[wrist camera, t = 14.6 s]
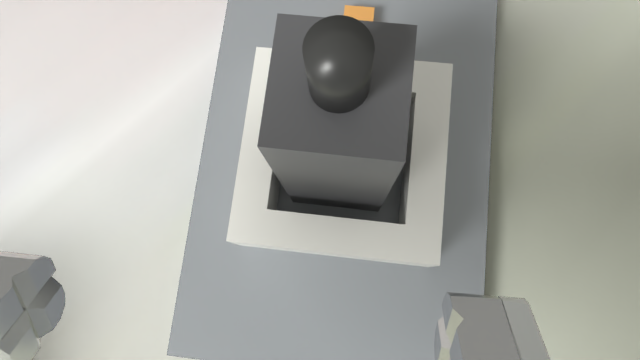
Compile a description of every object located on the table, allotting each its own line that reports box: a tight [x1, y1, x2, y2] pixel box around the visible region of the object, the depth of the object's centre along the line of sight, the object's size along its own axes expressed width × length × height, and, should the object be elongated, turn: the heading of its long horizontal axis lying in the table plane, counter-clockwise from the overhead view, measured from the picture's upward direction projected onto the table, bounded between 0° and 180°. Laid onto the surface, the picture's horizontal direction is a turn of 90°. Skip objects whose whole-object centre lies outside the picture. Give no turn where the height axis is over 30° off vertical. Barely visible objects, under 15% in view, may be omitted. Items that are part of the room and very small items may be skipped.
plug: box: [257, 13, 417, 212], centre depth 16 cm, size 4×4×11 cm
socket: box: [167, 0, 497, 360], centre depth 20 cm, size 18×13×4 cm
